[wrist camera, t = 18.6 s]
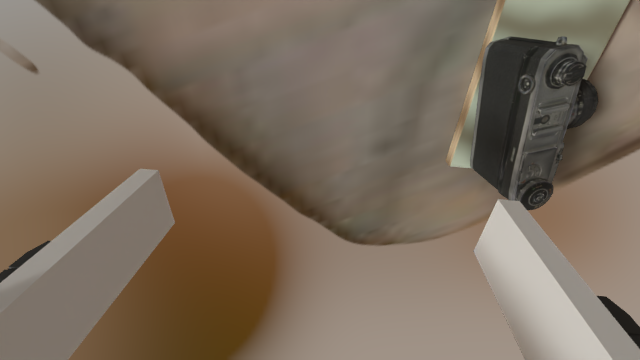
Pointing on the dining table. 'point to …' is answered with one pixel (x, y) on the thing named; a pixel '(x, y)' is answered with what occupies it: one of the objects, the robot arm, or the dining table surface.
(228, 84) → the dining table surface
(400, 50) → the dining table surface
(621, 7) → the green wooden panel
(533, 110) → the camera
